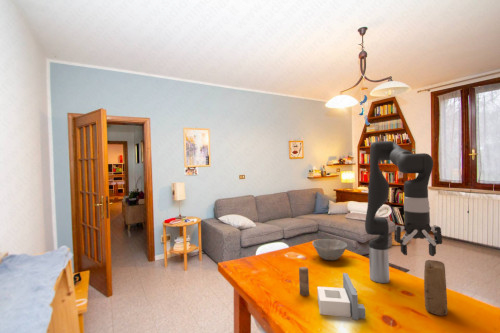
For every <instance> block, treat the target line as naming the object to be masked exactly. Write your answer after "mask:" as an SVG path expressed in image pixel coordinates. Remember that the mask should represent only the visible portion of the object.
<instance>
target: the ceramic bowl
mask: <svg viewBox="0 0 500 333" xmlns="http://www.w3.org/2000/svg"><path fill="white" fill-rule="evenodd" d="M311 243H312V246H313V247H314V249H315V251H316V253H317V254H318V256H319V257H320V258H322V259H323V260H325V261H337V260H339V259H340V258H341V257H342V255H344V253H345V251H346V249H347V248H348V244H347V242H345V241H343V240H339V239H334V238H333V239H332V238H319V239H315V240H313V241H312V242H311Z"/></svg>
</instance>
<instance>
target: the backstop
mask: <svg viewBox="0 0 500 333" xmlns="http://www.w3.org/2000/svg"><path fill="white" fill-rule="evenodd" d="M342 280H343V284H342V285H343V286H342V288H345V291H346V293H347V296H348V298H349V301H350V312H351V319H352V320H353V321H359V319H366V307H365V306H364V304H362V303H361V304H360V303H358V302H359V300H358V299H359V298H358V292H357V289H356V287H355V286H354V284H353V283H352V280H351V278H350V277H349V274H348V272H347V273H346V272H342Z"/></svg>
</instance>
